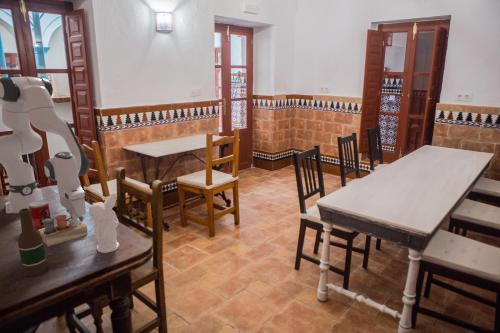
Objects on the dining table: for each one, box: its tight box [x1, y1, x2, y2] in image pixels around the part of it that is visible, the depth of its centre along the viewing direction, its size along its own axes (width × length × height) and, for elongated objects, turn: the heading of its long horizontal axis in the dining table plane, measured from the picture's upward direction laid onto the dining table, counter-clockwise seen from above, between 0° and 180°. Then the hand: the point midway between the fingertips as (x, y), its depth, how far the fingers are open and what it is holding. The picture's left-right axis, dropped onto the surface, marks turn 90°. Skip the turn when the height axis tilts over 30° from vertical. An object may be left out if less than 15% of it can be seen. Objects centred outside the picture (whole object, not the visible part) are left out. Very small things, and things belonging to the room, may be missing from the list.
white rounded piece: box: [68, 218, 80, 227], centre depth 159 cm, size 4×4×6 cm
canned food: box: [29, 199, 52, 229], centre depth 166 cm, size 8×8×11 cm
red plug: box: [54, 214, 67, 231], centre depth 155 cm, size 4×4×6 cm
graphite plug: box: [42, 217, 55, 234], centre depth 152 cm, size 4×4×6 cm
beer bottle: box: [17, 208, 48, 278], centre depth 127 cm, size 8×8×24 cm
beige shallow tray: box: [37, 219, 89, 248], centre depth 156 cm, size 11×16×4 cm
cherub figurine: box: [88, 193, 120, 254], centre depth 145 cm, size 12×12×22 cm
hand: (74, 219), depth 158 cm, fingers closed, pressing on white rounded piece
